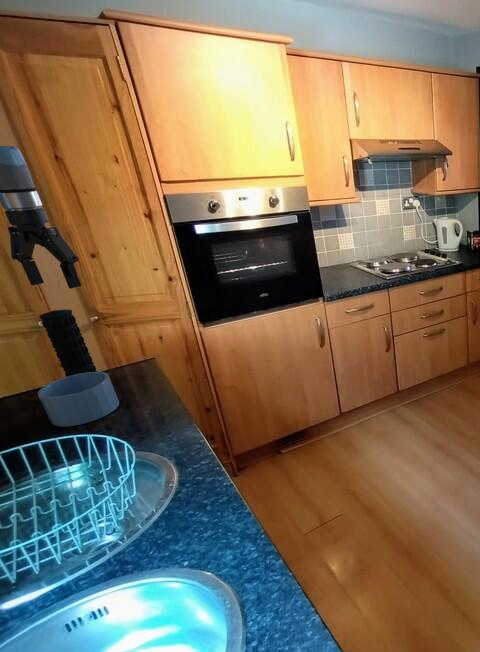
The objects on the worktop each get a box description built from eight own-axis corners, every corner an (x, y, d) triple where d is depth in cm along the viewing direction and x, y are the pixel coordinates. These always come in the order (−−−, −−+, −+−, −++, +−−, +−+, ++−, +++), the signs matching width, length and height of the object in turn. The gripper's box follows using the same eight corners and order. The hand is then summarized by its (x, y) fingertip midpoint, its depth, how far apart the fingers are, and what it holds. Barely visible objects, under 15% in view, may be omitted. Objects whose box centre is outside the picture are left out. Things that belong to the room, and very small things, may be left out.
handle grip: (115, 388, 140) (104, 379, 145) (82, 308, 129) (72, 302, 134) (72, 402, 132) (63, 392, 138) (35, 319, 122) (26, 311, 127)
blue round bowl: (36, 423, 123) (22, 395, 119) (90, 396, 136) (79, 369, 132) (82, 429, 120) (68, 400, 117) (132, 400, 134) (121, 373, 130)
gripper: (76, 208, 120) (105, 284, 129) (5, 205, 125) (37, 279, 133) (44, 212, 114) (77, 292, 122) (-30, 209, 118) (6, 286, 127)
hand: (56, 285), depth 128 cm, fingers open, 13 cm apart
